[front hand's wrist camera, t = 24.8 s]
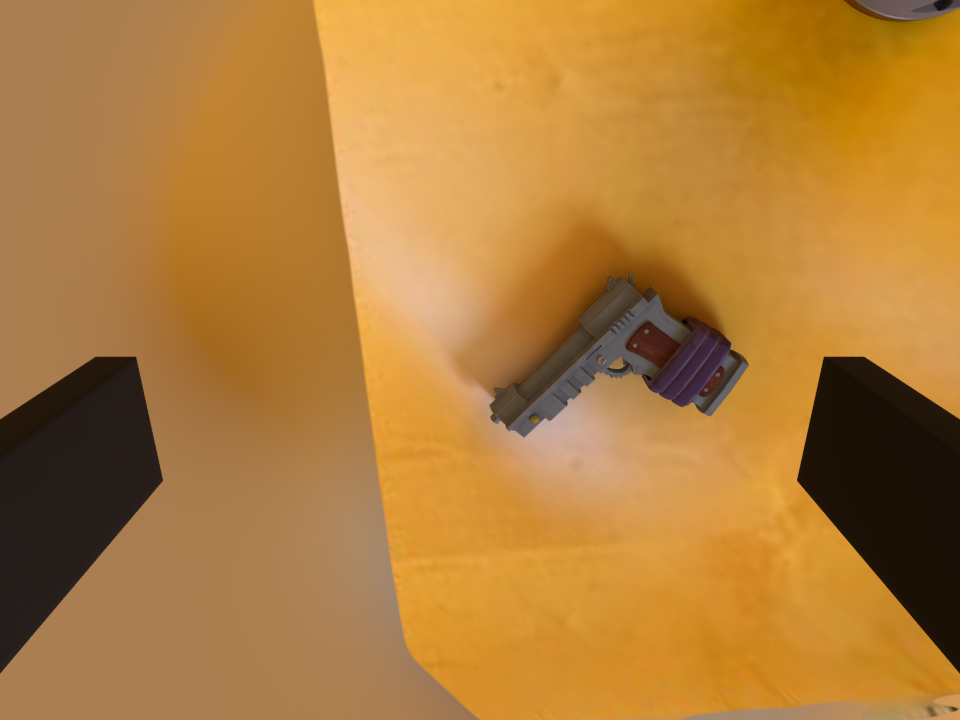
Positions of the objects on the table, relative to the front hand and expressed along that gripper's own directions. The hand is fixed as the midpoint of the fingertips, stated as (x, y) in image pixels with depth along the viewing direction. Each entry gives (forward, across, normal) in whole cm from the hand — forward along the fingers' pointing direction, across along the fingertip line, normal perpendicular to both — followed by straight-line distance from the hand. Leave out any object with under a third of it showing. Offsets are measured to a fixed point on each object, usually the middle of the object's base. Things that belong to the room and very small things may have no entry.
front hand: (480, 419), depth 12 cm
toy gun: (+41, -12, +17) cm, 45 cm away
